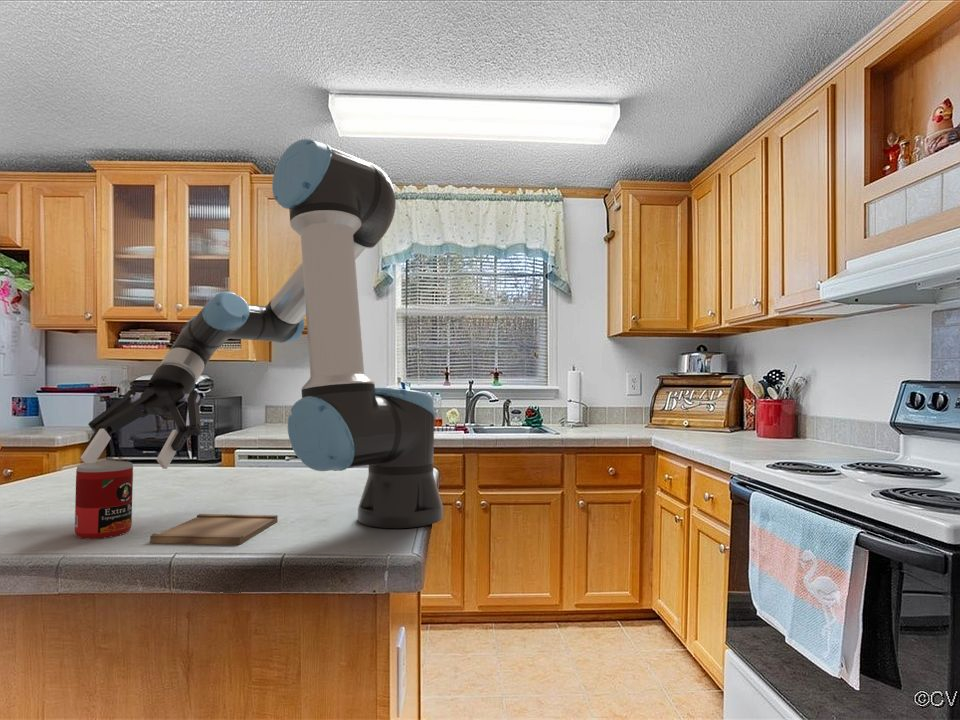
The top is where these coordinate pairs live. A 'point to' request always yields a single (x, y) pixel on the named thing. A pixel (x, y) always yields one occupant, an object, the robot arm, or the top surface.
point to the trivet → (216, 529)
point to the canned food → (103, 499)
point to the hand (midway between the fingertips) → (123, 463)
